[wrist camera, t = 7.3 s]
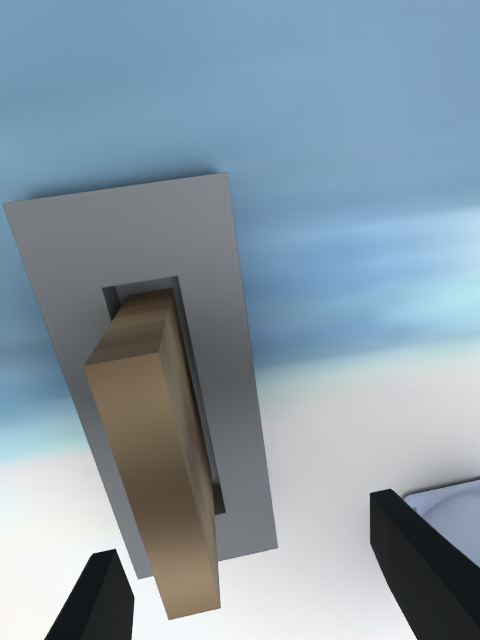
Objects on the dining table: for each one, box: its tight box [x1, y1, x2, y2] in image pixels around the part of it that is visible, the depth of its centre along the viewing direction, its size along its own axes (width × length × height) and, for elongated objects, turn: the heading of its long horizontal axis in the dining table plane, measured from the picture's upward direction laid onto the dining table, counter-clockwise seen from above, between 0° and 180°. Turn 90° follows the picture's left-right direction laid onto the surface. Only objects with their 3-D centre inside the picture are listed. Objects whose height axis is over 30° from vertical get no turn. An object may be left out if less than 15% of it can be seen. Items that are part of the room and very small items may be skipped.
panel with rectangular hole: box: [2, 172, 278, 579], centre depth 17 cm, size 20×8×2 cm, turn 8°
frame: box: [84, 288, 221, 620], centre depth 14 cm, size 11×2×7 cm, turn 8°
